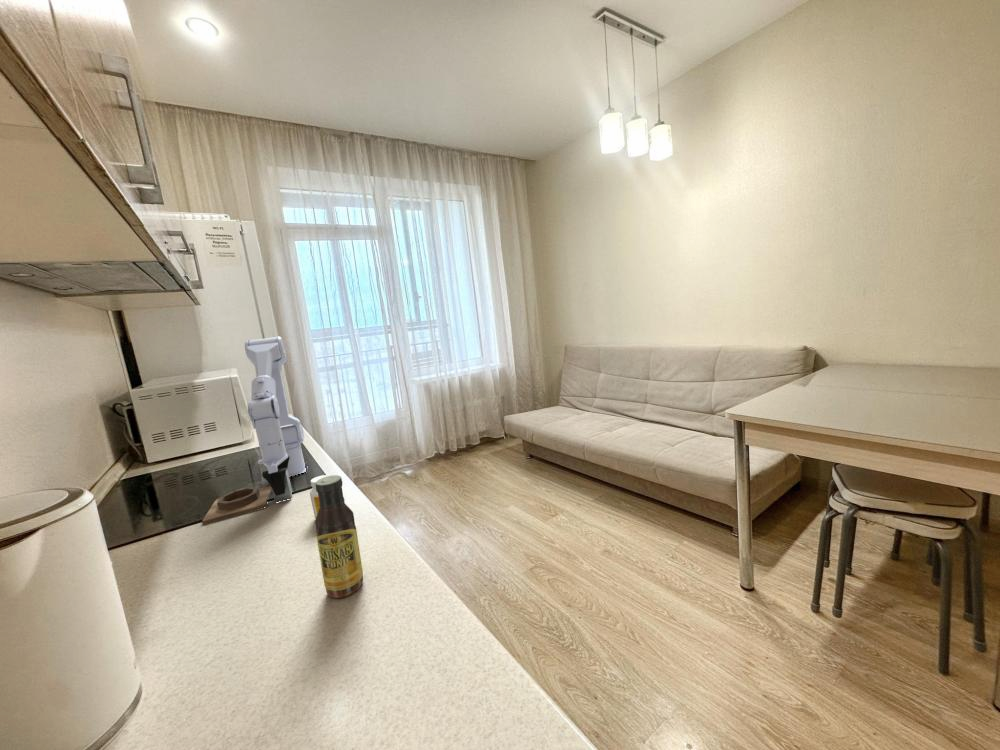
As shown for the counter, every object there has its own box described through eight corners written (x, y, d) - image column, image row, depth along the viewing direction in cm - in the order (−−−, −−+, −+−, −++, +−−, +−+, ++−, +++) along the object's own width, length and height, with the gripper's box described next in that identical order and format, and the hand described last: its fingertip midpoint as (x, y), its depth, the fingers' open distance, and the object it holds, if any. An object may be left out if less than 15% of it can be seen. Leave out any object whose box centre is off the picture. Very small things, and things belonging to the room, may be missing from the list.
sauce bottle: (323, 605, 64) (299, 492, 61) (329, 581, 70) (307, 477, 67) (365, 593, 65) (343, 483, 62) (367, 571, 71) (347, 469, 68)
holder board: (217, 502, 111) (214, 492, 110) (272, 488, 116) (270, 478, 116) (202, 524, 98) (200, 513, 97) (266, 507, 103) (263, 497, 103)
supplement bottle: (343, 512, 95) (336, 475, 94) (324, 523, 91) (315, 485, 89) (330, 508, 98) (323, 472, 97) (310, 519, 94) (302, 481, 92)
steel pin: (276, 498, 109) (270, 471, 107) (292, 494, 110) (286, 467, 109) (275, 504, 105) (268, 476, 104) (291, 499, 107) (285, 472, 105)
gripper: (258, 438, 110) (268, 483, 112) (249, 453, 97) (261, 503, 99) (286, 432, 113) (296, 476, 115) (281, 446, 99) (292, 495, 102)
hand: (282, 489), depth 107 cm, fingers open, 7 cm apart
